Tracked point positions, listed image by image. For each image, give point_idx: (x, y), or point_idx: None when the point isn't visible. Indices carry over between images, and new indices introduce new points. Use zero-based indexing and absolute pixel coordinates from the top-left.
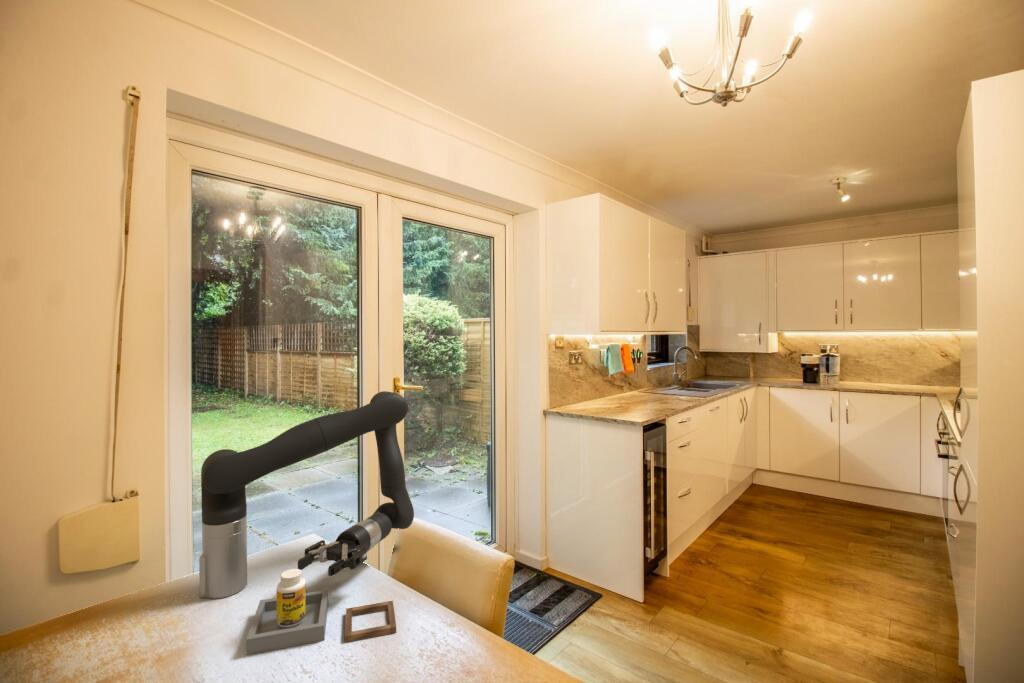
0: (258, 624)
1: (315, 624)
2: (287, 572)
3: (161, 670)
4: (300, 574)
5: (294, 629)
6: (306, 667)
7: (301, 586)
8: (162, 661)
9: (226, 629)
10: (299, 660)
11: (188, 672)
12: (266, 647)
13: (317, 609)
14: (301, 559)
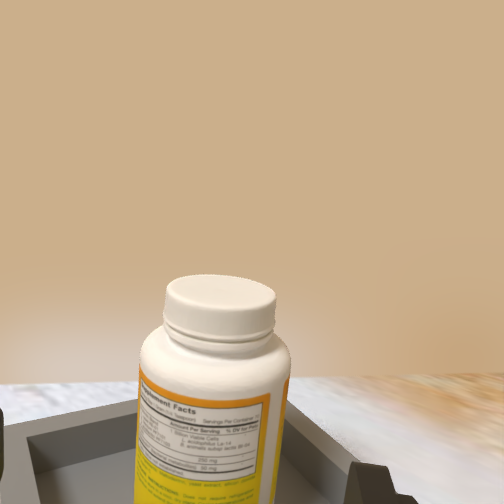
0: (292, 435)
1: (38, 431)
2: (250, 293)
3: (401, 381)
4: (166, 293)
5: (120, 406)
6: (35, 398)
7: (145, 339)
8: (437, 396)
9: (450, 500)
10: None
11: (337, 379)
12: None
13: None
14: (373, 477)
